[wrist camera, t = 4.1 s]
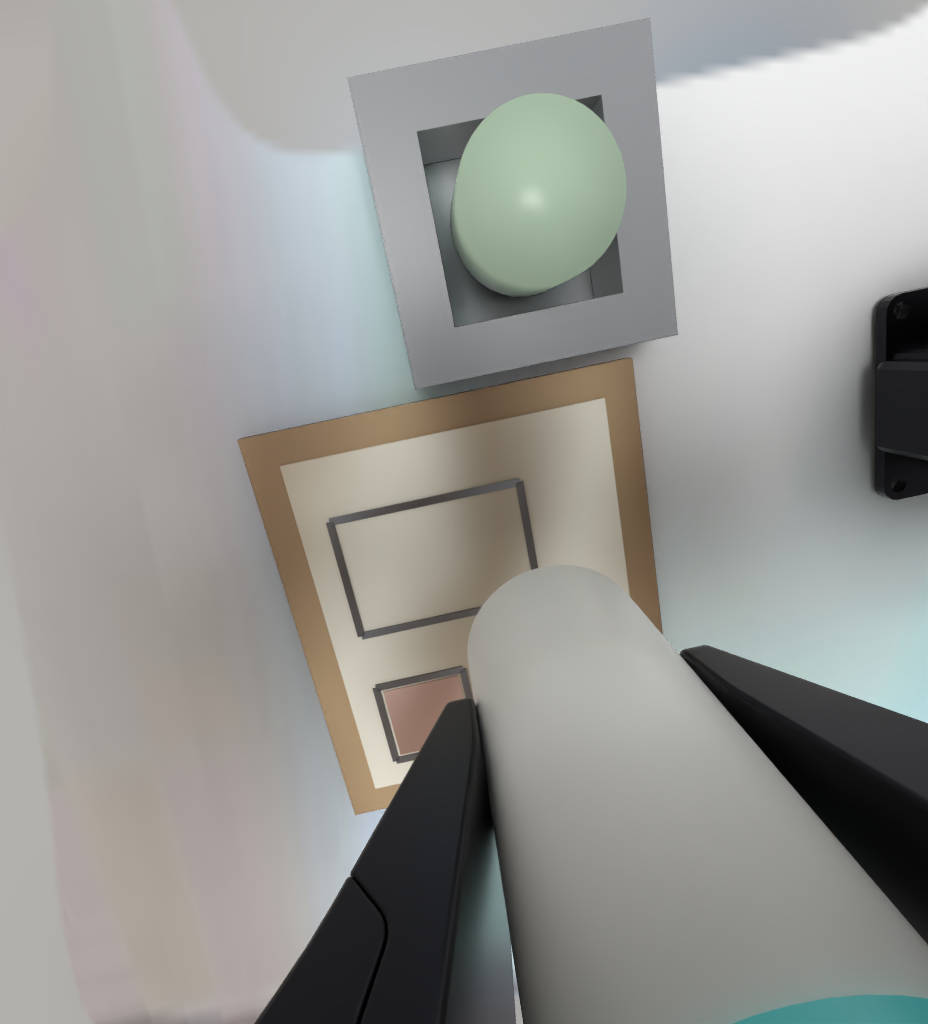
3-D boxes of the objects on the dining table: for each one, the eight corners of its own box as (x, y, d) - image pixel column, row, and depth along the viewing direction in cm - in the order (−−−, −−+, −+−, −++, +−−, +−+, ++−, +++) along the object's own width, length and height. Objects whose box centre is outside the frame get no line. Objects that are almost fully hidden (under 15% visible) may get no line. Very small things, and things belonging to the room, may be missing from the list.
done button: (581, 125, 14) (615, 76, 11) (600, 281, 15) (635, 267, 12) (436, 155, 14) (440, 112, 11) (465, 309, 15) (474, 300, 12)
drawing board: (627, 357, 17) (634, 357, 17) (670, 736, 21) (676, 746, 21) (241, 438, 17) (235, 441, 16) (356, 806, 21) (354, 818, 20)
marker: (634, 543, 10) (1558, 1371, 2) (654, 705, 11) (1326, 1719, 3) (447, 584, 10) (565, 1615, 2) (483, 743, 11) (666, 1881, 3)
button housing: (613, 71, 15) (649, 18, 13) (641, 337, 17) (677, 334, 15) (358, 121, 15) (347, 77, 13) (415, 384, 17) (415, 389, 15)
